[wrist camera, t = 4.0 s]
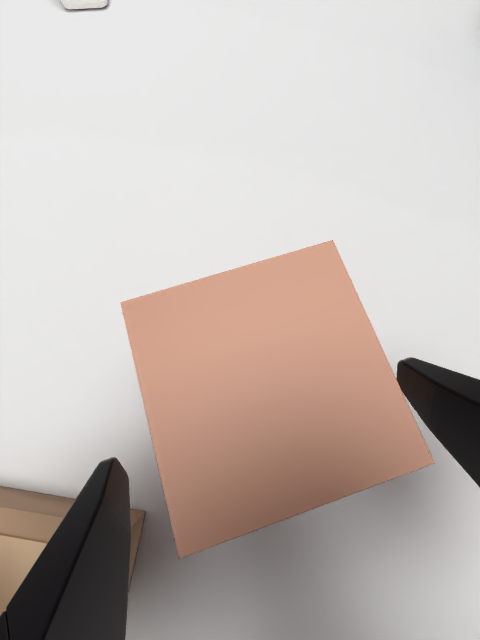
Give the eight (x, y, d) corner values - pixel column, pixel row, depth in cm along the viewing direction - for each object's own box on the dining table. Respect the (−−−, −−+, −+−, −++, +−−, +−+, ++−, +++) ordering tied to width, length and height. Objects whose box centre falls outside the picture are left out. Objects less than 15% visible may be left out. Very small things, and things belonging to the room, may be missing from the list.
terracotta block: (299, 425, 17) (434, 463, 5) (221, 452, 17) (178, 559, 5) (272, 349, 19) (332, 240, 7) (198, 372, 18) (120, 302, 6)
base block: (97, 738, 14) (65, 813, 11) (-95, 699, 14) (-169, 763, 11) (145, 511, 16) (127, 530, 14) (-19, 482, 16) (-66, 496, 14)
